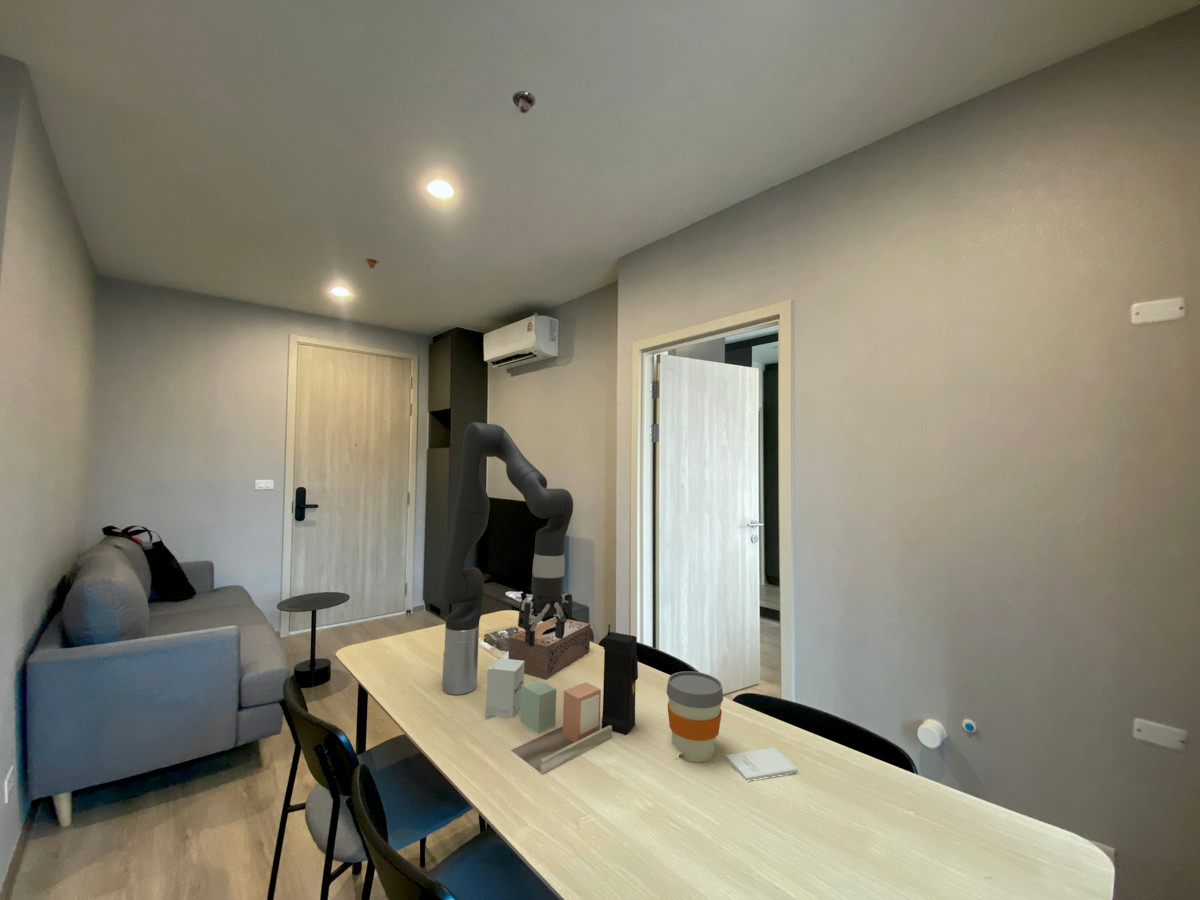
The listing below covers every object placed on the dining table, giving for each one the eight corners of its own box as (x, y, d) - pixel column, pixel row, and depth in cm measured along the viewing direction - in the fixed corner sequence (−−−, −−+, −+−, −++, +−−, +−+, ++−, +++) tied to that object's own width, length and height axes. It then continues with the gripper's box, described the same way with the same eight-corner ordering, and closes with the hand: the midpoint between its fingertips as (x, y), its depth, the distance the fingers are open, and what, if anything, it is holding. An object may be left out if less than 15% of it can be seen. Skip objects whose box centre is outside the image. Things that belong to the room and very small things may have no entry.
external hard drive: (797, 776, 100) (745, 784, 97) (773, 754, 108) (724, 761, 105) (798, 768, 100) (746, 776, 97) (773, 746, 108) (724, 753, 105)
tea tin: (537, 739, 110) (539, 695, 110) (520, 727, 115) (521, 685, 115) (555, 731, 113) (556, 688, 114) (537, 720, 118) (539, 679, 119)
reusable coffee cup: (711, 774, 99) (712, 700, 99) (656, 754, 105) (657, 685, 106) (729, 746, 109) (730, 679, 110) (678, 729, 116) (679, 666, 117)
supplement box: (512, 724, 116) (514, 671, 117) (484, 720, 117) (486, 668, 118) (523, 710, 123) (525, 660, 124) (496, 706, 125) (498, 657, 125)
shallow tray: (510, 757, 103) (511, 738, 103) (579, 724, 117) (579, 708, 117) (542, 781, 95) (542, 761, 95) (611, 743, 109) (612, 726, 109)
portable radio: (640, 730, 115) (642, 625, 116) (630, 743, 109) (633, 632, 111) (610, 722, 118) (613, 620, 119) (599, 734, 113) (603, 627, 114)
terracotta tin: (562, 735, 109) (563, 690, 110) (584, 724, 114) (586, 682, 114) (577, 745, 105) (579, 698, 106) (600, 733, 110) (601, 689, 111)
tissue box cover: (546, 680, 142) (547, 646, 142) (507, 669, 148) (509, 637, 149) (589, 653, 164) (590, 623, 165) (554, 644, 171) (555, 616, 172)
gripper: (561, 566, 121) (558, 631, 120) (514, 573, 111) (510, 644, 110) (581, 572, 115) (577, 640, 115) (533, 580, 105) (529, 654, 105)
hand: (544, 641), depth 112 cm, fingers open, 8 cm apart
